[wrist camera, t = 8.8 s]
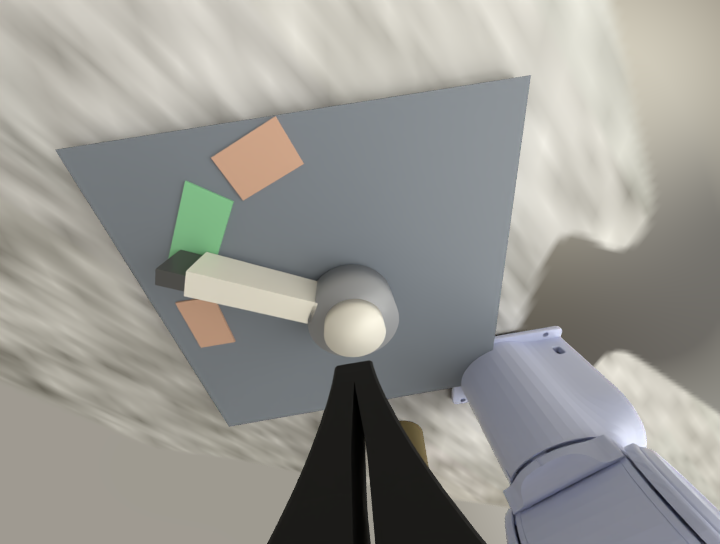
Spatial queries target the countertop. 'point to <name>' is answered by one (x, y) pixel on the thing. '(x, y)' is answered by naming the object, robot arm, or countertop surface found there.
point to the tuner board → (324, 232)
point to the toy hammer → (294, 298)
